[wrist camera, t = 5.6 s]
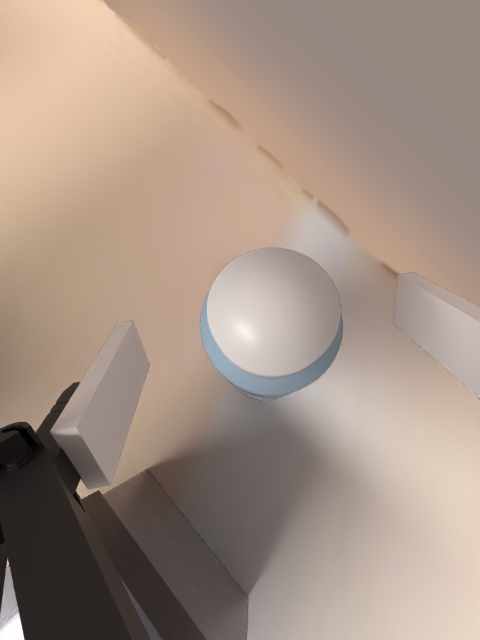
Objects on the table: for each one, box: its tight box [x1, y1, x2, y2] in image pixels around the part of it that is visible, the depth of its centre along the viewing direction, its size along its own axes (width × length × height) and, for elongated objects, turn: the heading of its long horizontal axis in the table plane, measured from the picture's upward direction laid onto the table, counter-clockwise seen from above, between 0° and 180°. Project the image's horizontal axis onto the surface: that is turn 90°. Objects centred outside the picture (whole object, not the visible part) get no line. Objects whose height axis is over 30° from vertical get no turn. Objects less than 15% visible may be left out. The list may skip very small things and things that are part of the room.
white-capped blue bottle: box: [200, 248, 343, 400], centre depth 14 cm, size 5×5×12 cm
